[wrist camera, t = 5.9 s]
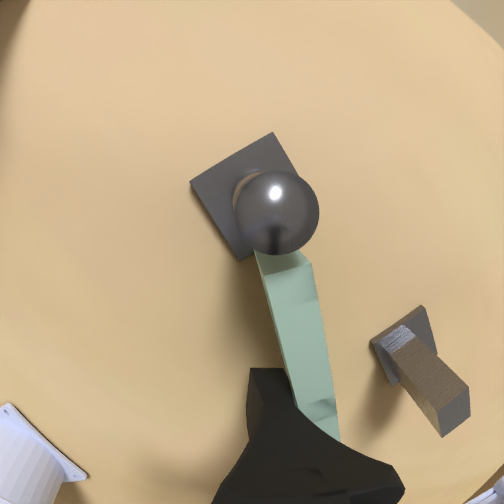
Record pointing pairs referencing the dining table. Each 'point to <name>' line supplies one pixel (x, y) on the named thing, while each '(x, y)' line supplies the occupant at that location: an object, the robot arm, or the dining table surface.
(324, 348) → the gate
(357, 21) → the dining table surface
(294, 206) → the hinge post
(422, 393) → the post
